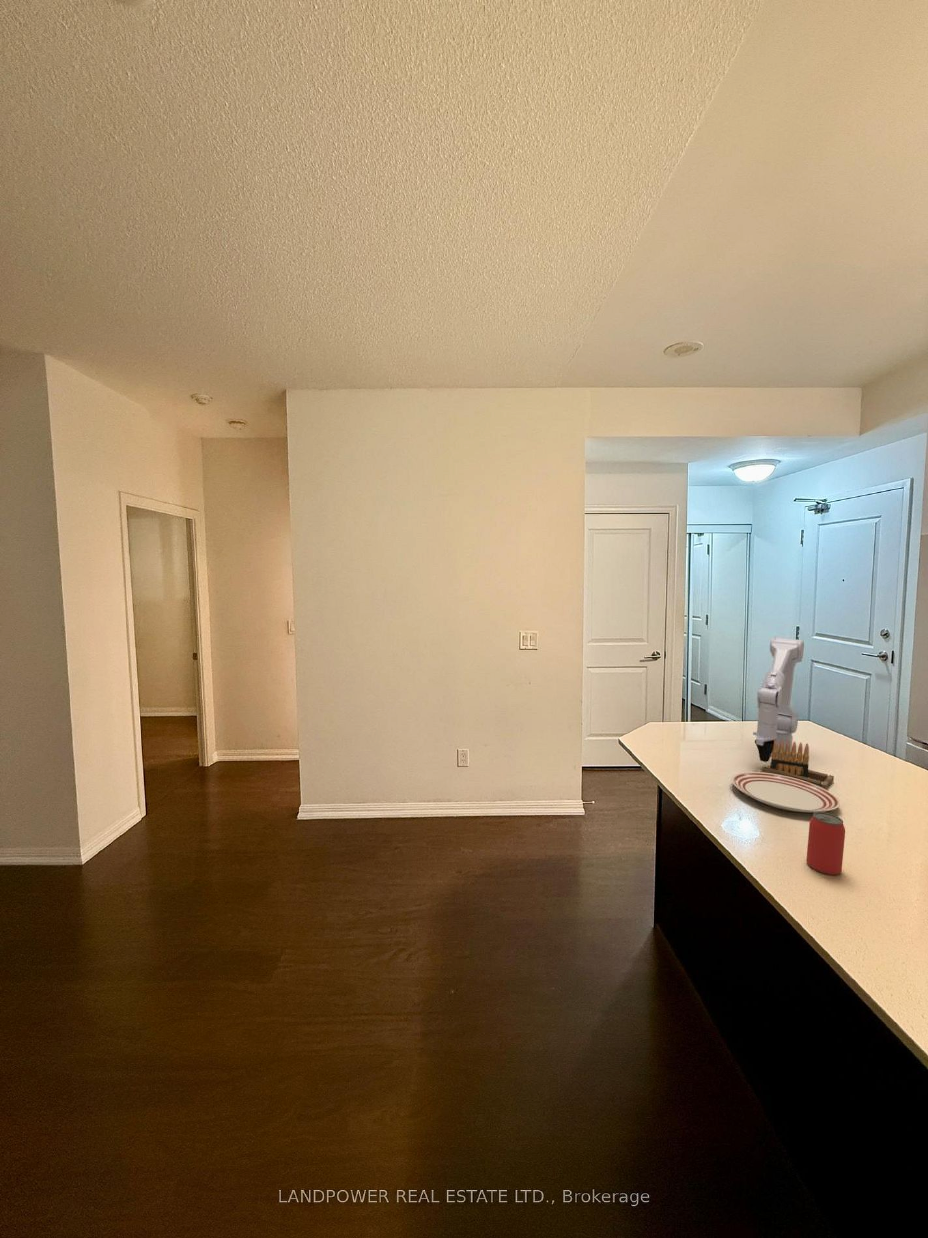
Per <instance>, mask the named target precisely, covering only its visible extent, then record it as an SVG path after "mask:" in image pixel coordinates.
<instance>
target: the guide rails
mask: <svg viewBox="0 0 928 1238" xmlns="http://www.w3.org/2000/svg"><path fill="white" fill-rule="evenodd" d="M769 763H770V764H769V767H768V766H764V767H762V771H761V772H763V773H772V774H778V775H783V776H788V777H792V778H796V779H799V780H803V781H806V782H809V783H812V784H814V785H817V786H819V787H821V788H823V789H825V790H827V791H828V790H829V788H830V787H831V786H832V784H833V783H834V780H835V776H834V775H832V774H831V775H830V774H827V773H823V772H819V771H815V770H812V769H808V778H806V777H802V776H799V775H795V774H791V773H787V772H784V771H780V770H776V769H777V768H776V769H772V768H770V765H771V761H770V762H769ZM789 766H790V765H789ZM795 769H796V766H795ZM801 772H802V770H801Z"/></svg>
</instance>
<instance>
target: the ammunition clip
mask: <svg viewBox="0 0 928 1238" xmlns="http://www.w3.org/2000/svg"><path fill="white" fill-rule="evenodd" d="M777 746H778V744H777V739H775V741H774V745H773V750H772V756H771V757H770V762H771V765H770V764H769V768H772V769H776V768H777V769H776V770H780V771H784V772H787V773H791V774H795V775H799V776H802V777H806V778H808V770H809V763H810V762H809V760H810V752H809V750H810V747H809V743H808V742H807V743H806V744H805V746H804V751H803V743H802V741H800V743H799V744H798V749H797V743H796V741H793V742H792V751H791V756H790V742H789V741H788V742H787V744H786V749H785V753H784V743H783V740H781V742H780V747H779V751H778V750H777ZM777 755H778V757H777ZM789 765H790V766H789ZM795 766H796V769H795ZM801 770H802V772H801Z"/></svg>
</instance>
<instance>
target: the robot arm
mask: <svg viewBox="0 0 928 1238" xmlns="http://www.w3.org/2000/svg"><path fill="white" fill-rule="evenodd" d="M804 649H805V643H804V641H803V639H795V638H784V637H776V636H773V637H772V638H771V639H770V642H769V651H770V653H771V654H770V655H771V656H772V658H773V660H772V665H771V670H768V671H767V672H766V675H765V677H764V680H763V683H762V687H761V688H758V691H757V696H756V698H757V700H756V701H757V709H758V713H757V714H758V715H757V725H756V726H757V727H756V731H753V732H752V735H753V736H755V737H756V739H755V740H754V744H755V745H756V749H757V751H758V755H759V756H758V757H759V762H760V761H761V762H764V763H768V762H769V761H770V760H771V757H772V750H773V745H774V741H775V739H777V744H778V746H777V750H778V751H779V747H780V742H781V740H783V743H784V753H785V749H786V744H787V742H788V741H789V742H790V756H791V751H792V745H793V734H795V733H797V729H798V724H799V723H798V721H799V720H798V718H799V717H798V716H799V715H798V713H797V711H796V710H795V709H794V708H793V707H792V706H791V700H792V699H791V698H792V689H793V681H794V675H795V673H794V672H795V668H796V665H797V663H800V662H801V663H802V661H803V658H804V652H805V651H804ZM777 758H778V755H777Z"/></svg>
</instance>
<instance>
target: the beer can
mask: <svg viewBox="0 0 928 1238" xmlns="http://www.w3.org/2000/svg"><path fill="white" fill-rule="evenodd" d="M812 813H813V814H812V817H811V818H810V821H809V823H808V824H809V826H808V837H807V850H806V858H805V860H806V863H807V865H808V866H809V867H811V868H812V869H814V870H815V871H817V872H818V873H822V874H826V875H832V876H833V875H834V876H836V875H839V874H841V873H842V869H843V863H844V861H843V859H844V849H845V838H846V827H845V825H844V821H843V819H842V818H840V817H839V816H838V815H835V814H832V813H830V812H812Z"/></svg>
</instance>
